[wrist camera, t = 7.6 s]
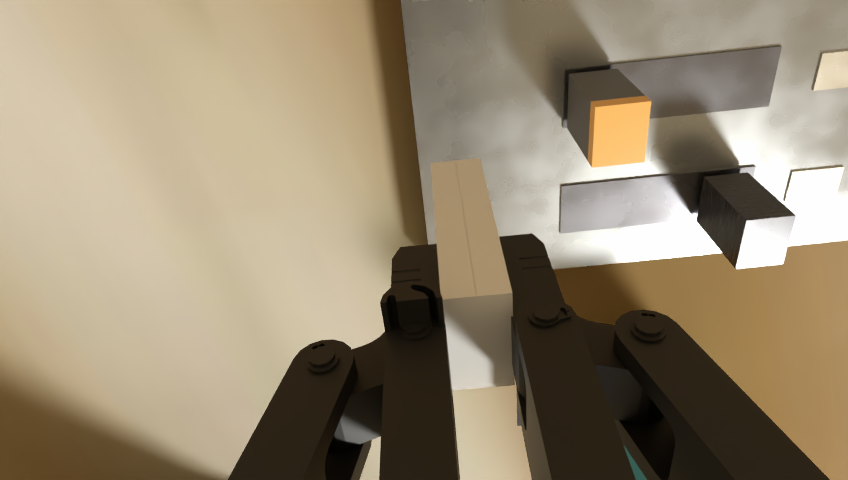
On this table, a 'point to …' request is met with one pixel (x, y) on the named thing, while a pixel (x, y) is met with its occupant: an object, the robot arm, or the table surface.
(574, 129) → the block
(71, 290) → the table surface
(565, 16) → the panel
